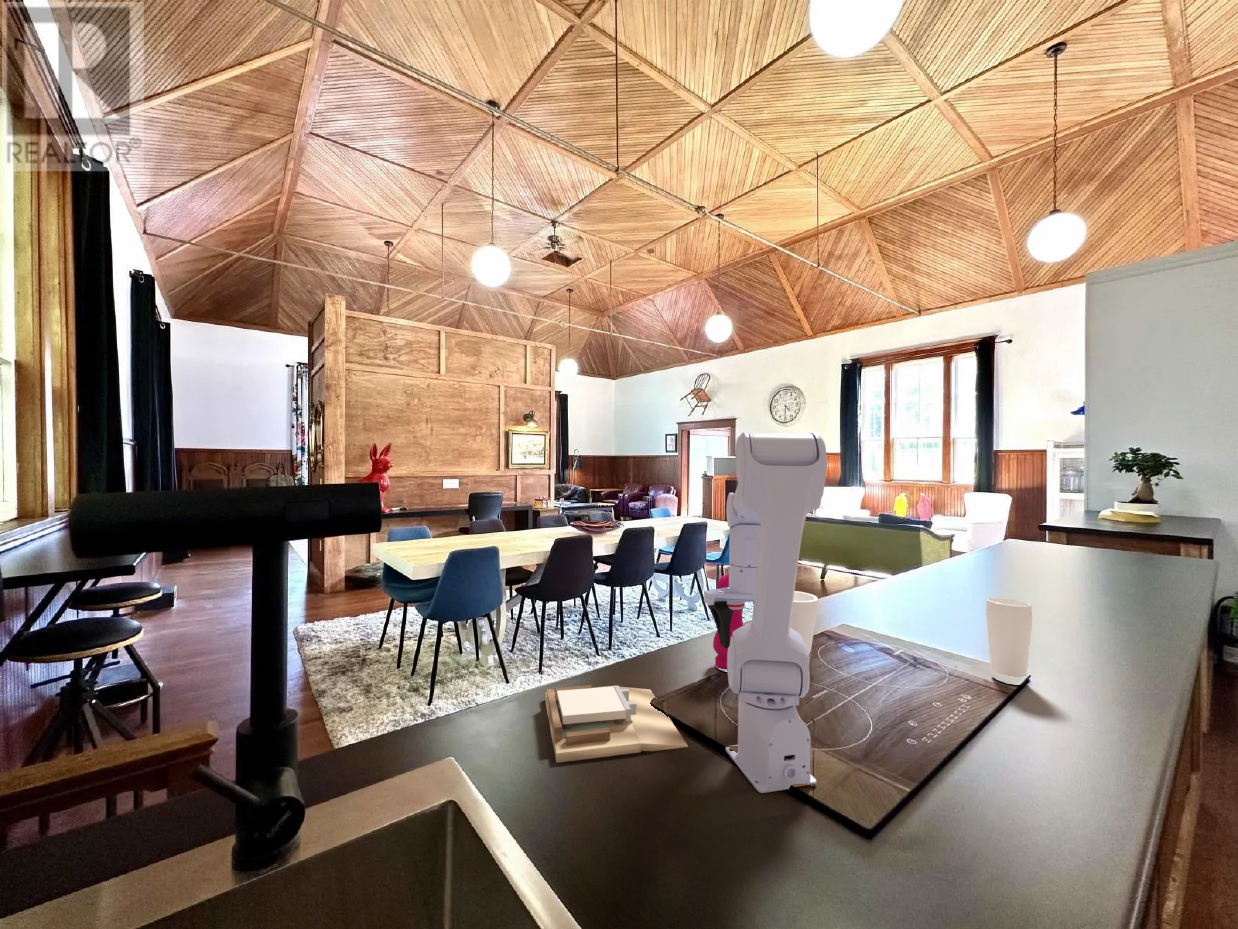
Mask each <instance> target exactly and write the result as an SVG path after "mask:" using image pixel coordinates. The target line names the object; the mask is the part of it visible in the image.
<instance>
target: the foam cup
mask: <svg viewBox="0 0 1238 929" xmlns="http://www.w3.org/2000/svg"><path fill="white" fill-rule="evenodd" d="M818 611H819V598H818V597H817V596H816V595H815V594H811V593H809V592H804V591H797V590H795V591H794V599H793V607H792V615H791V623H790V627H791V628H792V629H793V630H795V631H796V632H798V633H799V634H800V635H801V636H802V638H803V640H804V642H805V644H806V646H807V649H808V653H809V654H810V652H812V645H813V640H814V632H815V628H816V627H815V625H816V619H817V612H818ZM810 655H811V654H810Z"/></svg>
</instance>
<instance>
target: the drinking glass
mask: <svg viewBox="0 0 1238 929" xmlns="http://www.w3.org/2000/svg"><path fill="white" fill-rule="evenodd" d="M985 610H986V611H985V618H986V620H985V622H986V630H987V639H988V640H987V642H988V652H989V653H988V654H989V660H990V663H989V664H990V671H991V670H992V671H995V672H996V673H999V674H1004V675H1008V676H1014V677H1022V676H1027V677H1028V666H1029V656H1030V648H1031V639H1032V630H1033V607H1032V604H1031V603H1030V602H1028V601H1023V600H1020V599H1015V598H1009V597H1000V596H997V597H995V596H993V597H991V596H990V597H988V598H986V608H985Z"/></svg>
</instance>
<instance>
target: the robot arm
mask: <svg viewBox="0 0 1238 929" xmlns="http://www.w3.org/2000/svg"><path fill="white" fill-rule="evenodd" d="M735 444H736V445H735V455H734V456H735V457H734V458H735V459H734V460H735V461H734V465H735V466H734V467H735V476H736V479H737V486H736V489H735V492H729V493H728V495H727V500H726V510H725V511H726V513H725V514H726V523H727V525H728V527H729V543H728V545H729V547H728V549H729V551H728V553H729V555H728V556H729V558H728V561H729V563H728V566H729V568H728V569H729V573H728V574H729V587H728V588H722V589H717V588H716V589H711V590H710V589H709V590H704V591H703V602H704V603H705V604H707V607H708V609H709V610H710V613H711V615H712V618H713V621H714V623H715V626H716V631H717V630H718V634H719V639H720V645H722V646H723V647H724V648H728V654H727V671H728V673H727V681H728V685H729V688H730V690H731V691H732V693H733V694H736V695H738V697H737V698H738V702H737V703H738V706H737V708H738V709H737V712H738V713H737V744H735V745H734V744H733V745H731V746H738V752H737V753H736V752H735V751H730V750H729V749H730V747H727V746H726V747H725V751H726V753H727V754H728V755H729V757H730V758H731V760H732V761H734V763H735V764H736V765H737V767H738V768H739V769H740V770H741V772H742V773H743V774H744V776H745V777H746V778H747V780H748V781H749V782H750V783H751V784H752V786H753V787H754V788H755V790H756V791H757V792H758V793H759V794H763V793H764V794H765V793H771V792H778V791H784V790H790V789H789V788H790V786H791V785H793V784H806V783H807V784H810V783H811V784H813V783H814V784H815V783H816V784H817V779H816V778H815V777H814V776H813V775H812V774H811V759H812V758H811V756H812V754H811V748H812V746H811V744H812V738H811V732H810V729H809V728H808V725H807V724H806V723H805V721H803V720H802V718H801V717H800V714H799V712H798V710H797V706H800V698H804V697H805V696H806V695H807V694H808V693H809V689H810V686H811V685H810V682H811V679H810V678H811V676H810V674H811V673H810V659H811V656H810V657H809V653H808V649H807V646H806V644H805V642H804V640H803V638H802V636H801V635H800V634H799V633H798V632H796V631H795V630H793V629H792V628H791V627H790V623H791V615H792V607H793V599H794V591H796V590H795V589H796V584H797V582H796V581H797V574H798V569H799V560H800V551H801V544H802V536H803V532H804V527H805V524H806V518H807V515H808V514H810V513H812V512H813V511H815V510H816V509H818V508H819V507H820V506H821V503H822V498H823V496H824V491H825V486H826V485H825V484H826V478H827V477H826V476H827V470H828V457H827V456H828V455H827V447H826V444H825V440H824V438H822V436H821V435H820V434H819V433H818V432H811V433H748V431H744V432H742V433H741V434H740V435H738V437H737V439H736V442H735ZM736 602H745V603H750V602H751V603H753V609H752V618H751V621H749V622H747V623H746V624H743V625H744V626H742V627H740V628H738V629H737V630H735V631H734V632H733V635H732V637H731V640H730V625H731V619H732V614H733V610H731V609H730V608H729V605H727V603H736Z"/></svg>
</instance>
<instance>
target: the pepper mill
mask: <svg viewBox="0 0 1238 929" xmlns="http://www.w3.org/2000/svg"><path fill="white" fill-rule="evenodd" d="M727 572H728V573H727V574H723V575H722V576H721V577H720V578H719V579H718V581H717V583H716V589H722V588H728V587H729V568H728V570H727ZM745 603H746V602H736V603H727V605H729V608H730V609H731V610H733V614H732V619H731V625H730V640H731V637H732V635H733V632H734V631H735V630H737V629H738V628H740V627H742V626H744V625H745V624H744V621H743V610H744V609H745V607H746V604H745ZM712 640H713V642H712V643H713V644H712V648H713V650H714V651H715V653H716V654H717V655H716V656H715V658H714V659H715V664H714V665H716V666H717V667H718V668H721V669H727V654H728V648H724V647H723V646H722V645H720V639H719V634H718V630H717V629H716V632H715V633H714V637H713V639H712Z"/></svg>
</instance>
